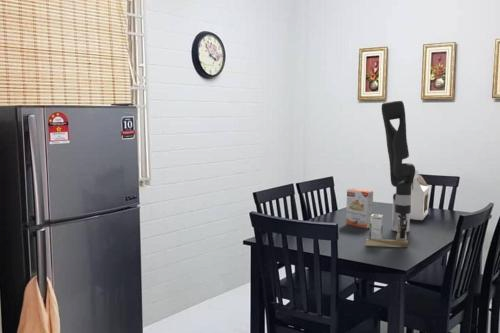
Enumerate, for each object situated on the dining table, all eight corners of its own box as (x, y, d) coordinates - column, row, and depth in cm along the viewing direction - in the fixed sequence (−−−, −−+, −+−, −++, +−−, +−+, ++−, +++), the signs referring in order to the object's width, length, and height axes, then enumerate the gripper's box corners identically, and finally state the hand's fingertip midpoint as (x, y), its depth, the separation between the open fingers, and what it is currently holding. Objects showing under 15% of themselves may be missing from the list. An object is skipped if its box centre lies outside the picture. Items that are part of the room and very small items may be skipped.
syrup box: (370, 241, 255) (371, 213, 253) (382, 242, 253) (383, 214, 251) (368, 244, 250) (369, 215, 248) (380, 245, 247) (381, 216, 246)
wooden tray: (363, 237, 262) (363, 222, 261) (402, 238, 260) (403, 223, 259) (366, 245, 246) (366, 229, 245) (408, 247, 244) (409, 231, 243)
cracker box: (345, 224, 291) (346, 189, 288) (351, 223, 295) (352, 188, 293) (366, 229, 281) (367, 192, 279) (372, 227, 285) (373, 190, 283)
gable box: (406, 211, 329) (408, 169, 326) (427, 213, 323) (429, 170, 320) (400, 218, 309) (401, 173, 306) (422, 220, 303) (424, 174, 300)
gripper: (393, 200, 257) (391, 233, 259) (397, 205, 243) (396, 240, 245) (408, 201, 256) (406, 234, 258) (413, 206, 242) (412, 241, 244)
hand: (401, 237), depth 252 cm, fingers closed on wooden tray, 3 cm apart
